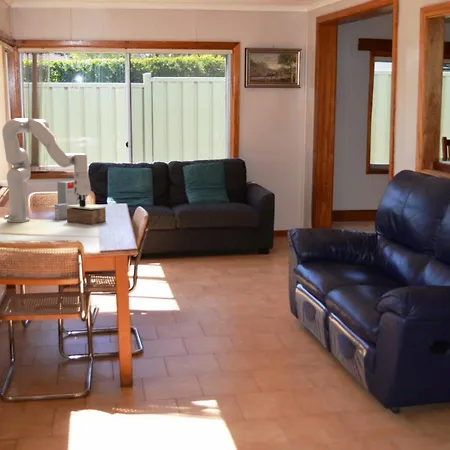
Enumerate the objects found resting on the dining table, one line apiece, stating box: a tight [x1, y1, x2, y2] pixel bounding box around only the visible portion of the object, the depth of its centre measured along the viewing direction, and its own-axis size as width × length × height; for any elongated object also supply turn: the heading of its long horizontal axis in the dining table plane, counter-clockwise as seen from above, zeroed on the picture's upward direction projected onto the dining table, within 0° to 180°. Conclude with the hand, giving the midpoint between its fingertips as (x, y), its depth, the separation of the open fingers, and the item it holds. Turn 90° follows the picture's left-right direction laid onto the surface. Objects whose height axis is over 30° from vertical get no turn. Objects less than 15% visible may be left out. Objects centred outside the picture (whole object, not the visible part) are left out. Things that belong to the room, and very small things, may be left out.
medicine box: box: [54, 203, 69, 221], centre depth 433 cm, size 8×4×9 cm, turn 141°
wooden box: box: [66, 208, 107, 226], centre depth 422 cm, size 13×18×8 cm
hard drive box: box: [56, 179, 79, 208], centre depth 454 cm, size 16×8×20 cm, turn 143°
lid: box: [66, 204, 106, 210], centre depth 421 cm, size 13×18×1 cm
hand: (82, 206), depth 418 cm, fingers closed
